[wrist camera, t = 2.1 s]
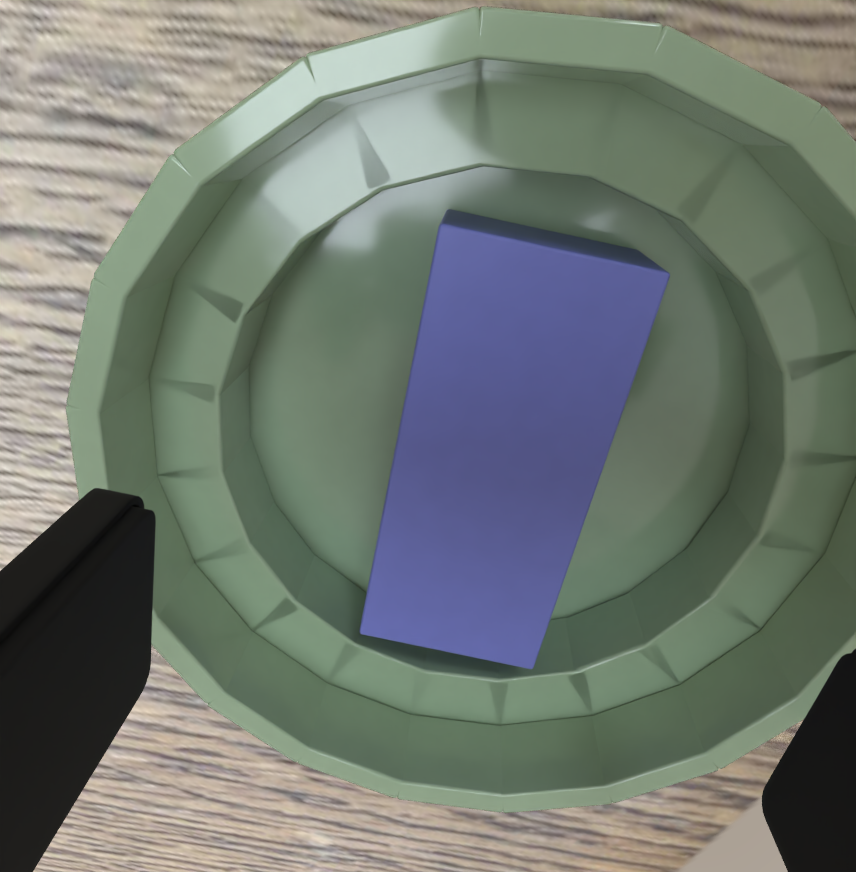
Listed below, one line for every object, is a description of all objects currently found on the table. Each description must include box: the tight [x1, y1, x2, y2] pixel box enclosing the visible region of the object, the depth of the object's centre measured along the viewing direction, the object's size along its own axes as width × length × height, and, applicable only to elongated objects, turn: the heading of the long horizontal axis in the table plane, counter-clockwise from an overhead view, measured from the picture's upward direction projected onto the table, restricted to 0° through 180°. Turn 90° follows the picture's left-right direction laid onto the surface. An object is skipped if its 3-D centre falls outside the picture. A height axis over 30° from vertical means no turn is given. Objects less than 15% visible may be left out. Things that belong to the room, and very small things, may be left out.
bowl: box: [66, 6, 856, 813], centre depth 14 cm, size 15×15×4 cm
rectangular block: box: [359, 209, 670, 669], centre depth 14 cm, size 9×4×2 cm, turn 169°
